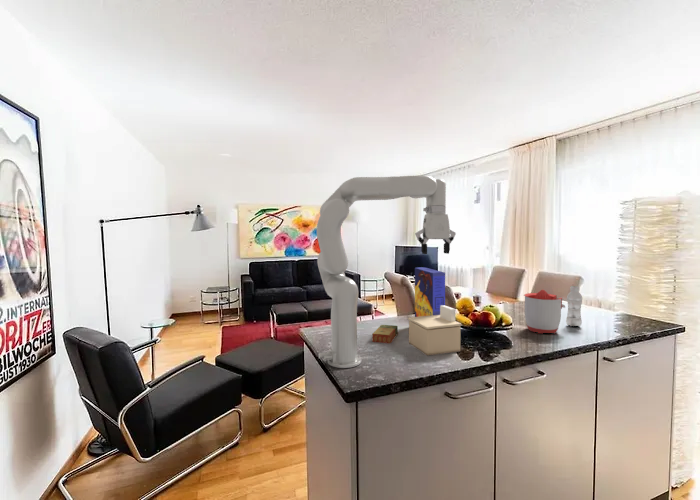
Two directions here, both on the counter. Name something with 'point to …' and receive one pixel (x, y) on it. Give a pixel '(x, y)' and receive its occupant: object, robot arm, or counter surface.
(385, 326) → the carton
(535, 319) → the citrus juicer
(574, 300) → the plastic bottle
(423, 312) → the cereal box
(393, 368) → the counter surface
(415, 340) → the cardboard box
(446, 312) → the box lid
